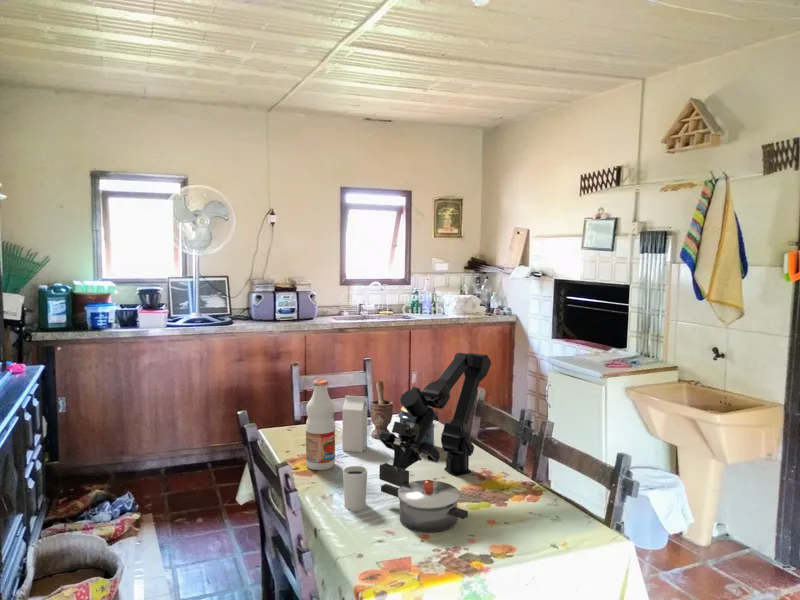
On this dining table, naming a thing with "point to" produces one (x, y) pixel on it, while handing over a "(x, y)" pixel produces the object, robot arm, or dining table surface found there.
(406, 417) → the canister
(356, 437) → the milk carton
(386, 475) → the lid
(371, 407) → the mortar and pestle
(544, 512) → the dining table surface
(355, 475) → the white cup
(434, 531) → the pot
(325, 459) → the fruit juice
